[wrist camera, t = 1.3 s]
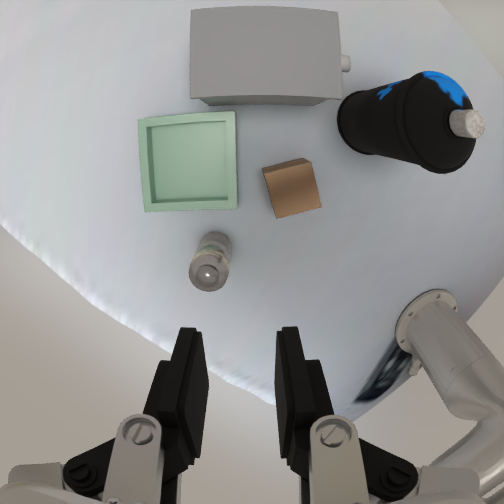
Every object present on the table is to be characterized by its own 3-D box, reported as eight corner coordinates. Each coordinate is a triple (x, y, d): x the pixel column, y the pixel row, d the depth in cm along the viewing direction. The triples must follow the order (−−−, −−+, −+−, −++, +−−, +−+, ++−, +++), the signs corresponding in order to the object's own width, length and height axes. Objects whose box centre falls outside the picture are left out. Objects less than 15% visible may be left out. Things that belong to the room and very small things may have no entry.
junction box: (330, 109, 32) (362, 101, 22) (207, 108, 32) (189, 98, 22) (328, 43, 28) (357, 14, 19) (206, 41, 28) (190, 9, 19)
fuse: (232, 261, 39) (228, 295, 31) (200, 261, 39) (189, 295, 31) (231, 230, 37) (226, 258, 29) (198, 231, 37) (185, 258, 29)
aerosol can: (395, 158, 34) (505, 191, 15) (335, 151, 34) (424, 177, 15) (397, 96, 31) (510, 84, 12) (336, 86, 31) (426, 47, 12)
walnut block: (312, 197, 36) (321, 206, 31) (272, 207, 36) (276, 218, 32) (302, 157, 34) (311, 161, 29) (262, 168, 35) (264, 173, 30)
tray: (237, 203, 36) (237, 208, 34) (150, 207, 36) (144, 212, 34) (235, 112, 32) (234, 111, 30) (144, 120, 32) (137, 119, 30)
